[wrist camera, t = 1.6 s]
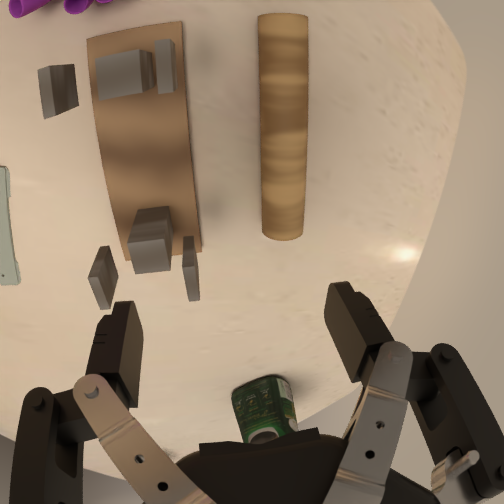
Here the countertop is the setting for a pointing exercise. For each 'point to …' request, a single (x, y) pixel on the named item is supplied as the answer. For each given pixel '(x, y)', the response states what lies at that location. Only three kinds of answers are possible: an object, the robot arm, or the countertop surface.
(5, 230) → the metal bracket
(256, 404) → the coffee jar
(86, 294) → the countertop surface
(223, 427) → the countertop surface
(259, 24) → the rail
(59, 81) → the bracket stand
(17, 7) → the purple tube coral
